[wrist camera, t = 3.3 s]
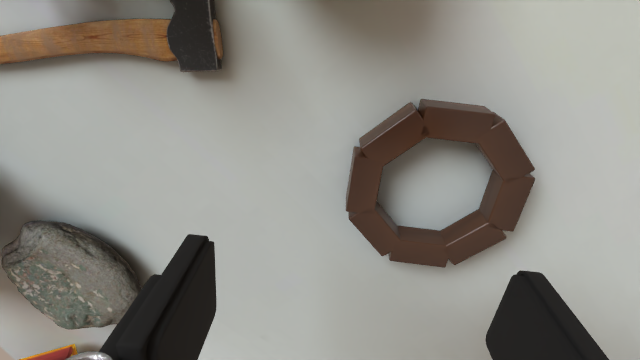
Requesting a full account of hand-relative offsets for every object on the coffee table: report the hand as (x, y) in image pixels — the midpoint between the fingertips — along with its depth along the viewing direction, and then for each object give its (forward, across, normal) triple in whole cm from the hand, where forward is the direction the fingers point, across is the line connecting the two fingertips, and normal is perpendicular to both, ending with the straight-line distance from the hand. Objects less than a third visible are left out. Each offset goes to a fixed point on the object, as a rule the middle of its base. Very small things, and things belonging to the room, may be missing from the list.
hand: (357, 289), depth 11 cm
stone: (+5, +14, +8) cm, 17 cm away
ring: (+8, -4, 0) cm, 9 cm away
